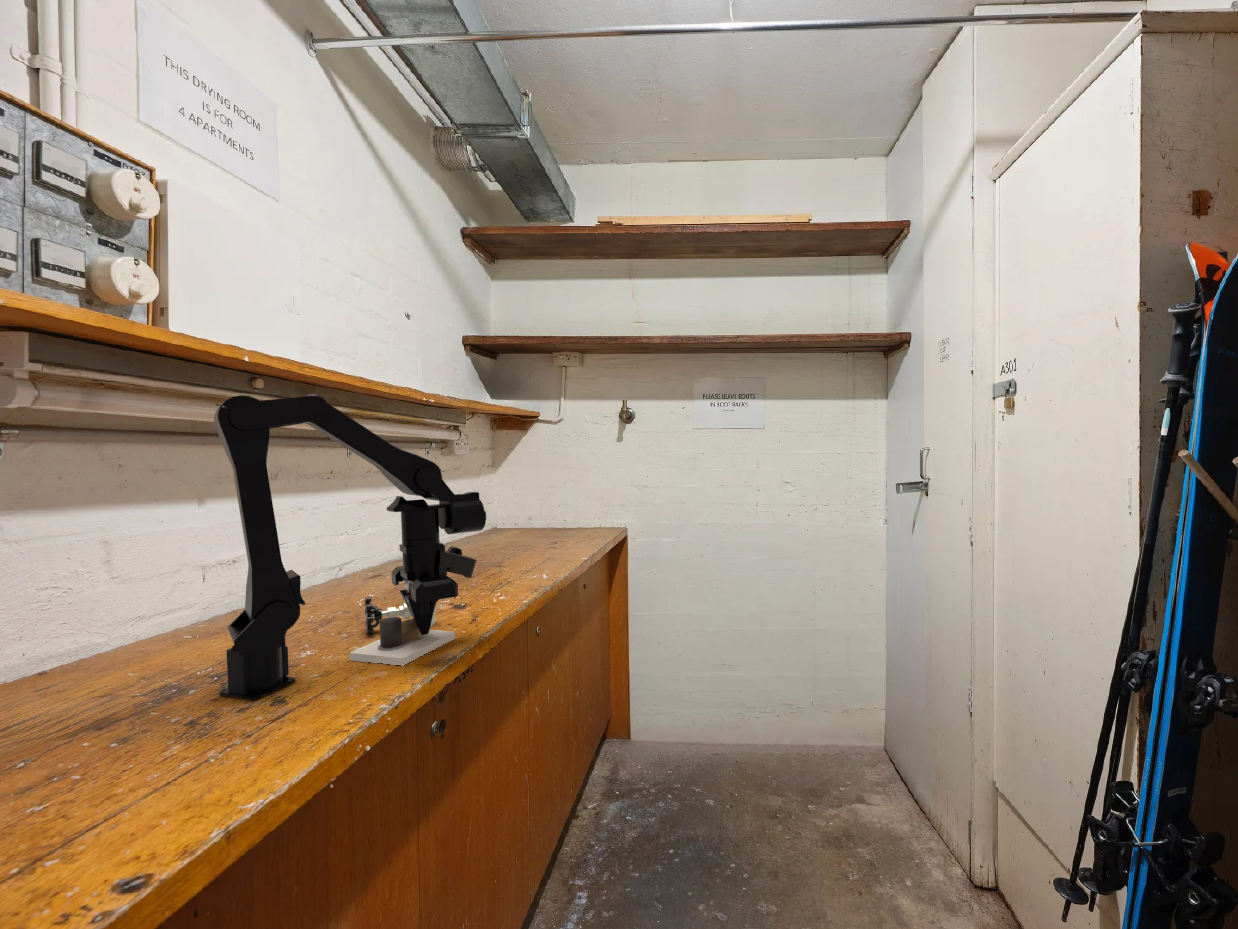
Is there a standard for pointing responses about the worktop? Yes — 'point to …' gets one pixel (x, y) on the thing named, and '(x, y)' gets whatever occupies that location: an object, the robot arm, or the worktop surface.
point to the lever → (397, 631)
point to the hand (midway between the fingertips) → (424, 634)
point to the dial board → (402, 649)
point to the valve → (385, 614)
